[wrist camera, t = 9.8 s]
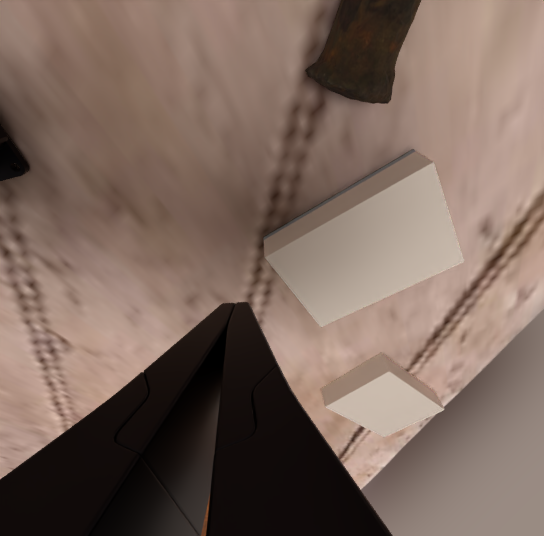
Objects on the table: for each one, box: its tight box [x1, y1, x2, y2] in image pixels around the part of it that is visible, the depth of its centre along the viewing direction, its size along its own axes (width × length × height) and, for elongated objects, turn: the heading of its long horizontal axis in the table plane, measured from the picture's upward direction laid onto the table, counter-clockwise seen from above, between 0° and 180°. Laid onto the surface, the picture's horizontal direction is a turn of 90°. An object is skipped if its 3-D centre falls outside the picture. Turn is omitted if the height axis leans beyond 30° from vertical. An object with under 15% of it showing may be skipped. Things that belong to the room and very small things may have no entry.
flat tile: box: [264, 149, 464, 327], centre depth 21 cm, size 11×8×3 cm
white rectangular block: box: [321, 353, 444, 437], centre depth 33 cm, size 3×8×11 cm
